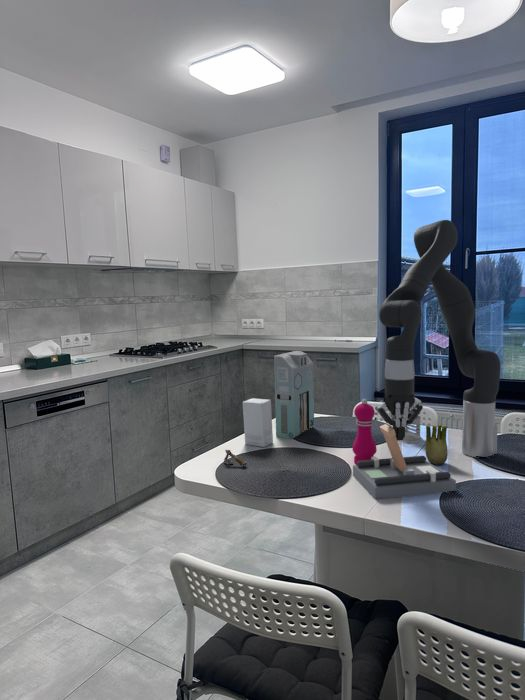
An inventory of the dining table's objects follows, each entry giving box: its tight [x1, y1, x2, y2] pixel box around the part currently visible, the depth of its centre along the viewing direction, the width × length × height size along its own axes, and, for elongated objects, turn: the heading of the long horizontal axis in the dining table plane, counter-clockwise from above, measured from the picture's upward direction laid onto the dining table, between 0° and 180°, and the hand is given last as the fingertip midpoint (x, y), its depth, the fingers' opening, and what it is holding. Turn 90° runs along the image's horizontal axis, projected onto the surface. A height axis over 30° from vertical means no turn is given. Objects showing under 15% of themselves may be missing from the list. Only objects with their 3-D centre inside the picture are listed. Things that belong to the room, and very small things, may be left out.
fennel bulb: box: [425, 424, 449, 466], centre depth 140 cm, size 6×5×12 cm
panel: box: [352, 459, 457, 500], centre depth 126 cm, size 22×16×5 cm
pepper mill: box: [352, 398, 377, 465], centre depth 142 cm, size 7×7×20 cm
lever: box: [379, 423, 407, 473], centre depth 125 cm, size 2×6×13 cm, turn 9°
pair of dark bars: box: [356, 455, 452, 485], centre depth 126 cm, size 21×15×2 cm
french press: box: [388, 396, 424, 444], centre depth 163 cm, size 10×12×25 cm
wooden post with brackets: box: [223, 449, 248, 468], centre depth 143 cm, size 2×8×4 cm, turn 56°
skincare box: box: [242, 397, 274, 448], centre depth 163 cm, size 8×7×16 cm
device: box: [273, 350, 315, 439], centre depth 175 cm, size 16×8×30 cm, turn 147°
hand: (398, 439), depth 125 cm, fingers closed
